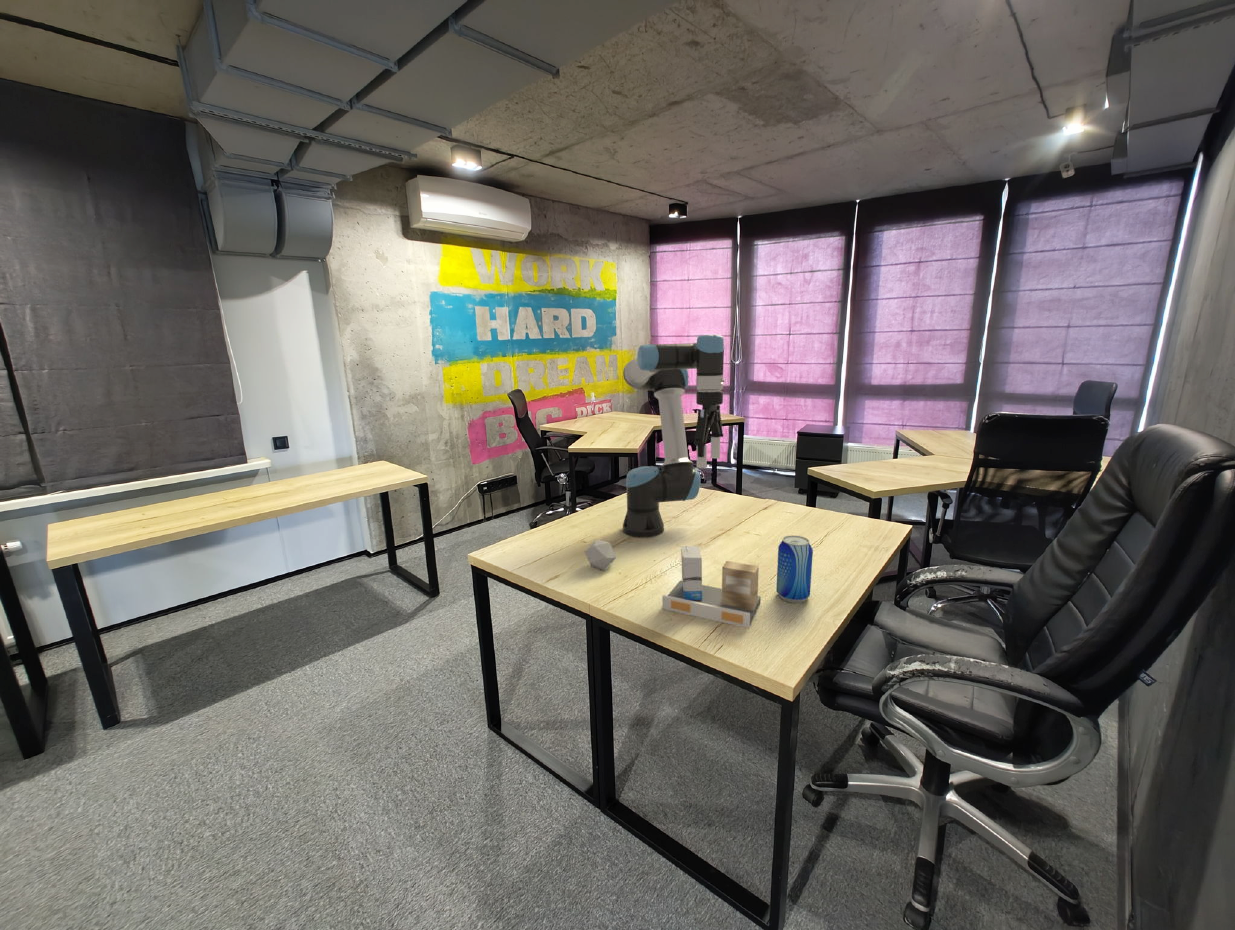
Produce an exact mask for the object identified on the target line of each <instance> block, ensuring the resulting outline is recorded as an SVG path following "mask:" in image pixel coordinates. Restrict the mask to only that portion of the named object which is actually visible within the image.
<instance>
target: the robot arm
mask: <svg viewBox="0 0 1235 930" xmlns="http://www.w3.org/2000/svg"><path fill="white" fill-rule="evenodd" d="M696 338H697V339H696V342H693V343H692V342H691V343H661V344H660V343H659V344H658V343H657V344H654V343H649V344H642V345H640V346H639V347H638V349H637V356H636V357H637V358H636V359H631V360H630V361H628V362H627V363H626V365H625V366H624V367H623V371H622V372H623V373H622V374H623V376H622V377H623V380H624V381H625V383H626V385H628V386H629V387H631V388H632V389H635V390H637V391H649V392H650V391H653V396H654V398H656V399H657V400H658V407H659V408H658V409H659V415H660V426H661V436H662V446H663V452H664V453H663V455H664V462H663V463H662V465H661V469H659V467H657V466H655V465H650V466H649V465H646V466H645V465H643V466H639V467H636V468H633V469H631V470H630V471H628V472H627V474H626V480H625V488H626V513H625V516H624V520H623V523H622V532H623V533H624V534H625V535H627V536H630V537H635V538H651V537H655V536H656V537H657V536H659V535H661V534H662V533H664V531H665V525H664V521H663V519H662V515H661V512H660V506H659V505H660V503H668V502H680V501H681V502H685V501H689V500H690V501H691V500H695V498H697V497H698V494H699V492H700V490H701V489H700V487H701V473H700V470H699V469H707V468H708V466H707V463H708V461H707V460H708V459H707V458H708V445H707V439H708V434H709V432H711V437H710V459H717V460H718V459H721V438H723V437H724V431H723V424H722V417H721V405H722V404H723V403H724V392H723V391H721V390H722V389H724V383H725V381H726V379H725V378H724V364H725V363H724V360H725V359H724V358H725V354H724V353H725V344H724V343H725V340H724V336H723V335H722V334H707V335H706V334H705V335H704V334H703V335H698V337H696ZM693 369H694V370H696V375H695V376H696V379H695V381H696V385H695V386H696V388H695V389H696V390H697V392H696V395H695V396H696V404H697V405H699V406H702V408H701V409H698V411H697V420H696V426H695V434H694V440H693V445H694V446H696V467H694V462H693V461H692V460H690V459H689V453H688V452H689V451H688V446H687V436H686V427H685V419H684V418H685V417H684V410H683V409H684V408H683V403H682V402H683V401H682V396H683V395H684V394H685V393H686V391H685V390H686V389H687V388H688V387H689V371H688V370H693Z"/></svg>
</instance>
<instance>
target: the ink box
mask: <svg viewBox="0 0 1235 930" xmlns="http://www.w3.org/2000/svg"><path fill="white" fill-rule="evenodd" d="M680 548H681V549H680V550H681V553H680V555H681V557H680V559H681V581H682V586H683V595H684V599H685V600H702V585H703V569H702V568H703V566H702V565H703V564H702V563H703V561H702V559H703V558H702V554H701V550H700V546H699V545H681V547H680Z"/></svg>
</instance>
